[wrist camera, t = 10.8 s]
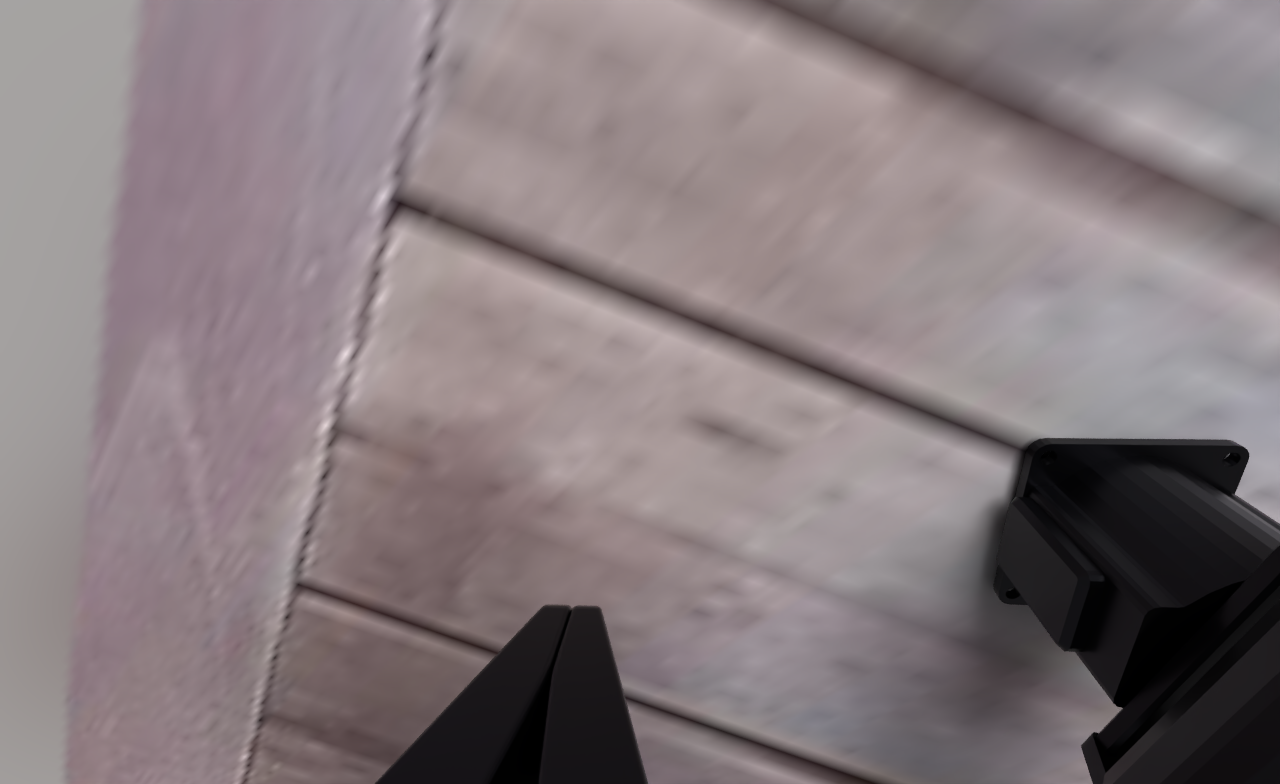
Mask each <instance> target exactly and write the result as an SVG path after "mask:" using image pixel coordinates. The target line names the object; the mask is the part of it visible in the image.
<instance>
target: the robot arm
mask: <svg viewBox="0 0 1280 784" xmlns="http://www.w3.org/2000/svg"><path fill="white" fill-rule="evenodd" d="M1046 451H1050V454H1049V455H1048V456H1047V457H1045V458H1042V459H1040V457H1041V456H1042V454H1043V453H1045V452H1046ZM1229 453H1230V454H1229ZM1228 454H1229V456H1228V457H1227V458H1225V459H1224V460H1223V458H1224V457H1225V456H1226V455H1228ZM1248 460H1249V452H1248V450H1247V449H1246V448H1244V447H1243V446H1241V445H1239V444H1237V443H1236V442H1234V441H1231V440H1195V439H1076V438H1044V439H1039V440H1037V441H1035V442H1033V443H1032V444H1031V445H1030V446H1029V447H1028V449H1027V451H1026V455H1025V459H1024V463H1023V467H1022V471H1021V475H1020V479H1019V483H1018V488H1017V492H1016V496H1015V498H1014V499H1013V501H1012V502H1011V503H1010V506H1009V510H1008V514H1007V518H1006V522H1005V526H1004V530H1003V534H1002V539H1001V543H1000V547H999V551H998V555H997V563H998V564H999V565H998V569H997V573H996V577H995V581H994V591H995V593H996V594H997V596H998V597H999V599H1000V600H1001V601H1002V602H1004V603H1006V604H1017V605H1029V607H1030V608H1031V610H1032V611H1033V612H1034V614H1035V615H1036V616H1037V618H1038V619H1039V621H1040V622H1041V623H1042V625H1043V626H1044V628H1045V629H1046V630H1047V632H1048V633H1049V634H1050V636H1051V637H1052V639H1053V640H1054V641H1055V643H1056V644H1057V645H1058V646H1059V647H1060V648H1061V649H1062V650H1064V651H1069V652H1076V654H1077V655H1078V656H1079V658H1080V659H1081V660H1082V662H1083V663H1084V664H1085V666H1086V667H1087V668H1088V670H1089V671H1090V672H1091V674H1092V675H1093V676H1094V678H1095V679H1096V680H1097V682H1098V683H1099V684H1100V686H1101V687H1102V688H1103V690H1104V691H1105V692H1106V694H1107V695H1108V696H1109V698H1110V699H1111V700H1112V702H1113V703H1114V704H1115V705H1116V706H1118V707H1122V708H1123V709H1122V710H1121V711H1120V712H1119V713H1118V714H1117V715H1116V716H1115V717H1114V718H1113V719H1112V720H1111V721H1110V722H1109V723H1108V724H1107V725H1106V726H1105V727H1104V729H1103V730H1102V731H1101V732H1100V733H1095V732H1094V733H1093V734H1092V735H1091V736H1090V737H1089V738H1088V739H1087V740H1086V741H1085V742H1084V743H1083V744H1082V745H1081V748H1082V751H1083V754H1084V757H1085V760H1086V763H1087V766H1088V770H1089V773H1090V776H1091V779H1092V782H1093V784H1280V524H1279V523H1277V522H1276V521H1274V520H1273V519H1271V518H1270V517H1268V516H1267V515H1265V514H1264V513H1262V512H1261V511H1259V510H1258V509H1256V508H1255V507H1253V506H1252V505H1250V504H1248V503H1247V502H1245V501H1244V500H1242V499H1241V498H1239V497H1238V496H1236V495H1235V492H1236V489H1237V487H1238V485H1239V482H1240V480H1241V477H1242V475H1243V472H1244V470H1245V467H1246V465H1247V462H1248ZM1010 588H1014V589H1012V590H1011V591H1007V590H1009V589H1010ZM375 784H648V782H647V778H646V774H645V770H644V767H643V763H642V759H641V755H640V752H639V748H638V744H637V740H636V737H635V733H634V729H633V725H632V722H631V718H630V714H629V710H628V707H627V703H626V699H625V696H624V692H623V688H622V684H621V681H620V677H619V673H618V669H617V666H616V662H615V658H614V654H613V651H612V647H611V643H610V639H609V636H608V632H607V628H606V624H605V621H604V617H603V613H602V610H601V608H600V607H598V606H581V605H577V606H575V607H574V608H573V609H572V608H571V607H570V606H569V605H545V606H543V607H542V608H541V609H540V610H539V611H538V612H537V613H536V614H535V615H534V616H533V617H532V618H531V619H530V620H529V621H528V622H527V623H526V624H525V626H524V627H523V628H522V629H521V630H520V631H519V632H518V633H517V634H516V635H515V636H514V637H513V638H512V639H511V640H510V641H509V642H508V643H507V645H506V646H505V647H504V648H503V649H502V650H501V651H500V652H499V653H498V654H497V655H496V656H495V657H494V658H493V659H492V660H491V661H490V662H489V664H488V665H487V666H486V667H485V668H484V669H483V670H482V671H481V672H480V673H479V674H478V675H477V676H476V677H475V678H474V679H473V680H472V681H471V683H470V684H469V685H468V686H467V687H466V688H465V689H464V690H463V691H462V692H461V693H460V694H459V695H458V696H457V697H456V698H455V699H454V700H453V702H452V703H451V704H450V705H449V706H448V707H447V708H446V709H445V710H444V711H443V712H442V713H441V714H440V715H439V716H438V717H437V718H436V719H435V721H434V722H433V723H432V724H431V725H430V726H429V727H428V728H427V729H426V730H425V731H424V732H423V733H422V734H421V735H420V736H419V737H418V738H417V740H416V741H415V742H414V743H413V744H412V745H411V746H410V747H409V748H408V749H407V750H406V751H405V752H404V753H403V754H402V755H401V756H400V758H399V759H398V760H397V761H396V762H395V763H394V764H393V765H392V766H391V767H390V768H389V769H388V770H387V771H386V772H385V773H384V774H383V775H382V777H381V778H380V779H379V780H378V781H377V782H376V783H375Z"/></svg>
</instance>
